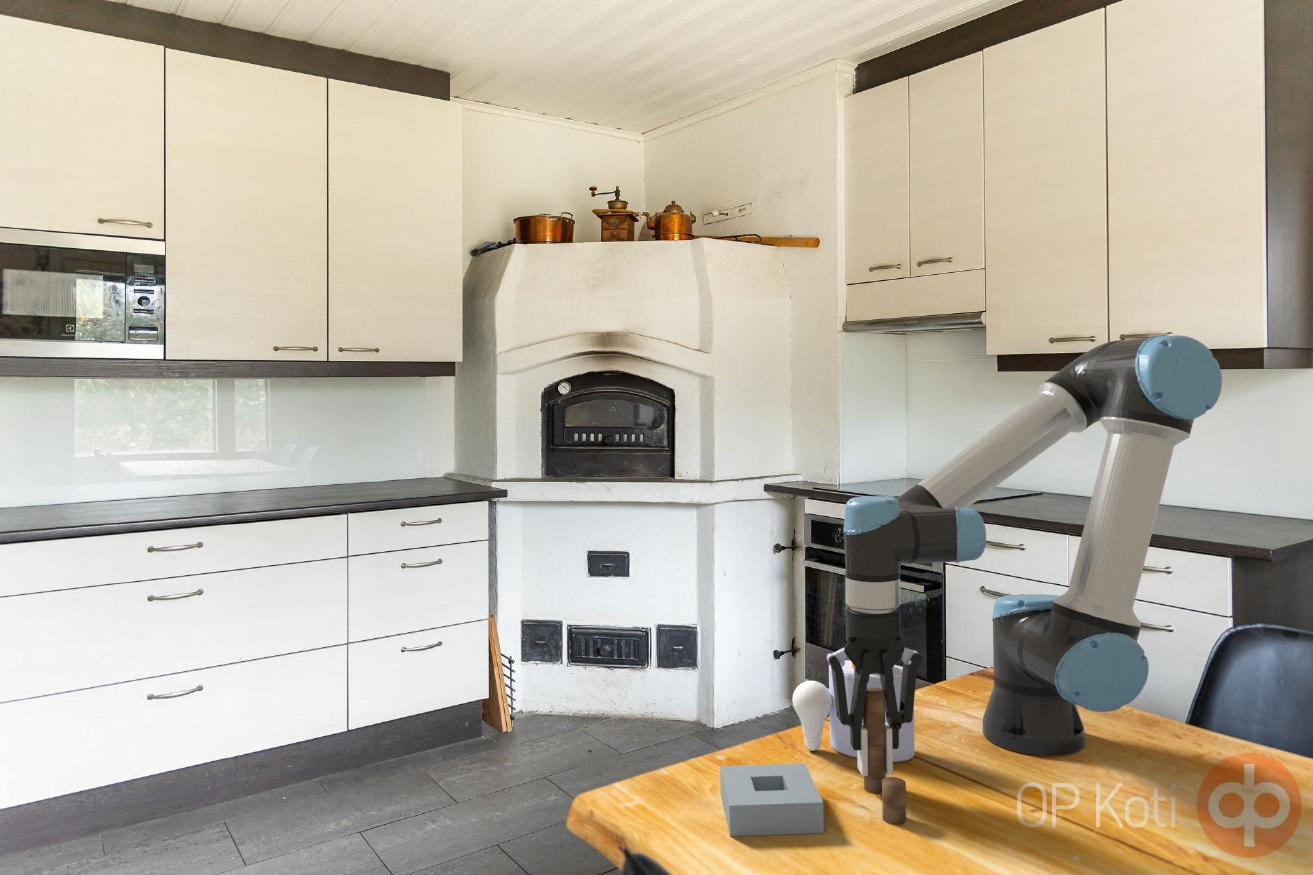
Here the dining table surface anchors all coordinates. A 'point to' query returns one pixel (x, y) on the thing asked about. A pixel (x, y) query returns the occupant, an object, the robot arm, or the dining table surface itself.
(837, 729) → the soap bottle
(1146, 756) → the dining table surface
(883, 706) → the long pin
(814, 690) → the lightbulb
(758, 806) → the collar block
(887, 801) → the short pin
